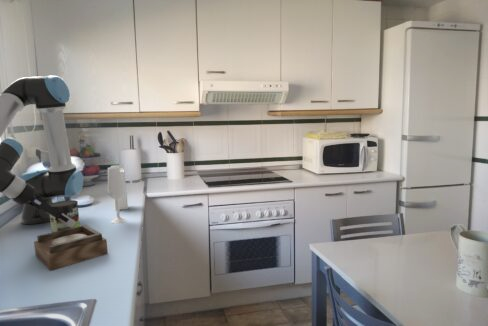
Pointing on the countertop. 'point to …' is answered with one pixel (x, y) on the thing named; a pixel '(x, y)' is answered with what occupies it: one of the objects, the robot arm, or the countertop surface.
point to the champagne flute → (115, 190)
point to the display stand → (69, 246)
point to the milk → (123, 200)
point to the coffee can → (69, 210)
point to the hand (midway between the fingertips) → (68, 221)
